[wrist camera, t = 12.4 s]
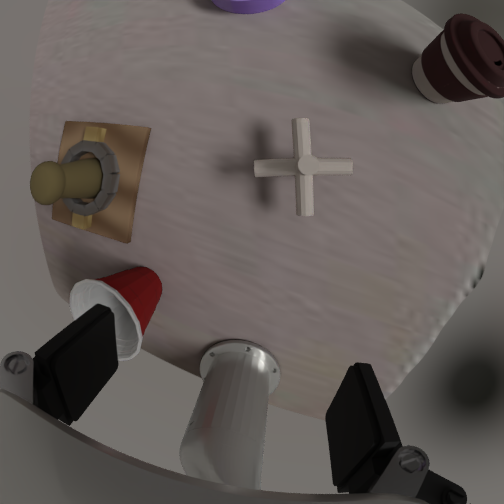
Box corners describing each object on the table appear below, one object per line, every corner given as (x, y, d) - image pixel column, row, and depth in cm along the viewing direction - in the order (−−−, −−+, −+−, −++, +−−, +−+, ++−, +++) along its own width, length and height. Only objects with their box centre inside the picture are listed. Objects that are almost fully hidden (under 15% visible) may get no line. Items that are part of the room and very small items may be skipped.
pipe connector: (261, 210, 34) (253, 224, 24) (256, 129, 31) (246, 111, 21) (341, 208, 33) (365, 221, 23) (338, 128, 30) (360, 110, 20)
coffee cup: (400, 41, 25) (448, -7, 11) (455, 64, 24) (514, 34, 10) (403, 101, 28) (466, 69, 13) (459, 122, 27) (529, 109, 13)
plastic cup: (102, 271, 39) (54, 302, 27) (148, 235, 36) (98, 262, 25) (142, 327, 40) (105, 372, 29) (192, 300, 38) (160, 348, 27)
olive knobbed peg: (110, 160, 33) (56, 160, 22) (103, 202, 34) (50, 215, 24) (80, 155, 33) (27, 155, 22) (74, 194, 35) (22, 205, 24)
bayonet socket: (130, 241, 37) (119, 247, 34) (55, 217, 37) (44, 221, 34) (151, 128, 32) (140, 125, 29) (69, 121, 32) (57, 120, 30)
